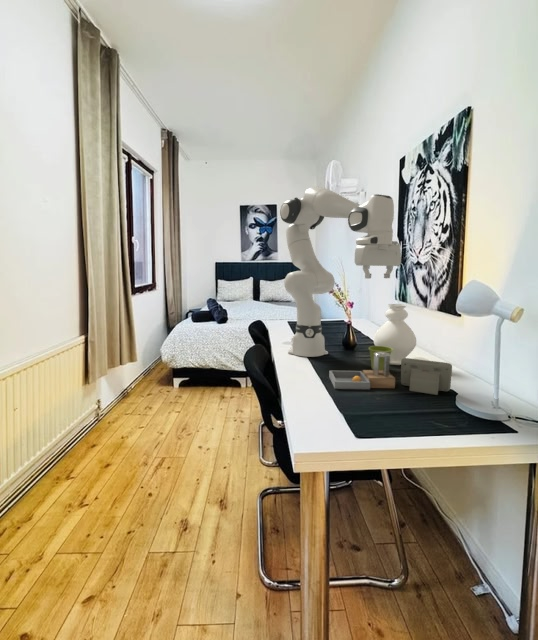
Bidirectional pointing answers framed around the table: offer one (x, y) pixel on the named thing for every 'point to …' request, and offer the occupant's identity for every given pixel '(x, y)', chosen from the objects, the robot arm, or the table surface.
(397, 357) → the decorative vase
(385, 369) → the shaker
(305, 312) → the robot arm
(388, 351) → the plant pot
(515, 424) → the table surface
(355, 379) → the ball
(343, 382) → the tray
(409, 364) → the digital clock
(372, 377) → the stand
